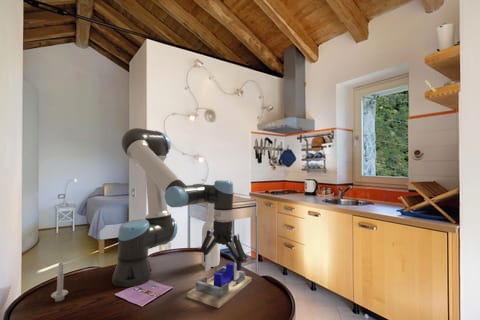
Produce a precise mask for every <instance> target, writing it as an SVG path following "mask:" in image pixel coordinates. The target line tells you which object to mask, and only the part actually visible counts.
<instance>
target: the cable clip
mask: <svg viewBox="0 0 480 320" xmlns="http://www.w3.org/2000/svg"><path fill="white" fill-rule="evenodd" d="M225 267H226V270H225V269H224V270H223V271H222V272H221V273H217V272H216V273H215V272H214V274H213V276H214V286H217V287H222V286H223V285H225V284H226V283H228V284H229V283H230V282H231V281H232V280H233V279H234V263H231V262H227V263H226V265H225Z"/></svg>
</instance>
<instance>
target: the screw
mask: <svg viewBox="0 0 480 320" xmlns="http://www.w3.org/2000/svg"><path fill="white" fill-rule="evenodd" d="M64 271H65V269H64V262H62V261H60V262H59V263H58V270H57V272H56V273H57V275H56V276H57V280H56V281H57V282H56V283H57V284H56V291H54V292H52V293H51V295H50V297H51V298H53V299H54V301H55V302H56V303H57V302H62V301H64V300H65V296H66V295H68V294H69V291H68V290H67V289H64V274H65V272H64Z"/></svg>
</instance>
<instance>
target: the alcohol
mask: <svg viewBox="0 0 480 320" xmlns="http://www.w3.org/2000/svg"><path fill="white" fill-rule="evenodd" d="M214 220H215V219H214V204H211V203H207V213H206V220H205V222H204V224H203V225H202V229H201V245H202V244H203V242H204V240H205V238H206V235H207V231H208V230H211V229H212V230H213V231H214V229H213V221H214ZM213 239H214V236H213V235H212V237H211V240H210V242H209V244H208V246H209V245H210V244H211V242H212V241H213ZM208 246H207V247H208ZM209 253H211V267H213V268H216V267H218V266H219V264H220V262H221V261H220V257H221V254H220V253H221V244H218V243H217V244H216V245H215V246H214V247H213V248H212V250H211V251H210V252H209ZM200 257H201V260H200V261H201V263H200V264H201V265H202V266H203V267H204V268H205V262H204V254H203V252H201V256H200Z"/></svg>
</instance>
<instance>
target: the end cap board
mask: <svg viewBox="0 0 480 320" xmlns="http://www.w3.org/2000/svg"><path fill="white" fill-rule="evenodd" d="M224 269H225V270H226V266H225V265H224V266H223V265H222V266H221V267H219V268H217V269H216V270H215V272H214V273H216V272H217V273H221V272H222V271H223V270H224ZM252 279H253V278H252V276H247V275H246V271H243V270H240V271H239V278H238V279H237V280H234V279H233V280H232V281H231V282H230V283H229V284H228V283H226V284H225V285H223V286H222V287H217V286H214V275H213V276H212V277H210V278H209V279H208V276H204V277H201V279H199V280H197V281H195V286H194V288H192V289H191V290H189V291H187V292H186V297H187V298H189V299H191V300H194V301H197V302H200V303H203V304H205V305H208V306H211V307H214V308H215V309H216V308H217V309H220V308H221V307H222V306H223V305H224V304H226V303H228V301H230V300H231V299H232V298H233V297H234V296H235V295H237V294H238V293H239V292H240V291H241V290H242V289H244V288H245V287H246V286H248V284H249V283H251V282H252Z"/></svg>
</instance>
